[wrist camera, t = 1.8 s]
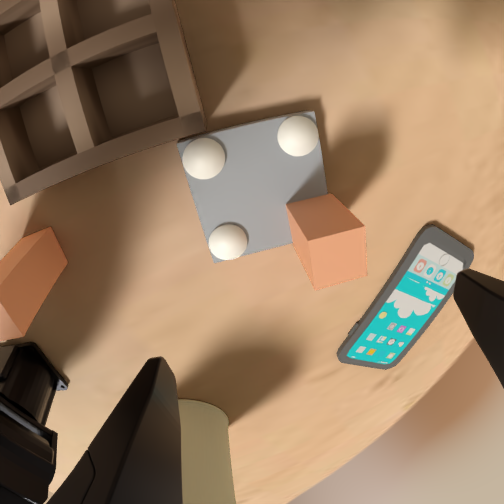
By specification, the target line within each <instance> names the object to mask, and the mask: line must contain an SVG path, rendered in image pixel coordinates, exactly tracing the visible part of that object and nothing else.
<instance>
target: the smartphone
mask: <svg viewBox="0 0 504 504" xmlns="http://www.w3.org/2000/svg"><path fill="white" fill-rule="evenodd" d="M473 258H474V253H473V251H472V250H471V249H470V248H468V247H467V246H465V245H464V244H462V243H461V242H459V241H458V240H456V239H455V238H453V237H452V236H450V235H449V234H447V233H446V232H444V231H442V230H441V229H439V228H438V227H436V226H434V225H433V224H432V225H426V226H424V227H422V229H421V230H420V231H419V232H418V233H417V235H416V236H415V238H414V239H413V241H412V243H411V244H410V246H409V248H408V249H407V251H406V252H405V254H404V256H403V257H402V259H401V260H400V262H399V263H398V265H397V267H396V268H395V270H394V271H393V273H392V274H391V276H390V277H389V279H388V280H387V282H386V283H385V285H384V286H383V288H382V289H381V291H380V292H379V294H378V295H377V297H376V298H375V299H374V301H373V302H372V304H371V305H370V307H369V308H368V309H367V311H366V312H365V314H364V315H363V316H362V318H361V319H360V320H359V322H356V323H355V325H354V326H353V327H352V329H351V330H350V331H349V333H348V334H349V335H348V337H347V338H346V339H345V341H344V342H343V343H342V345H341V346H340V347H339V349H338V351H337V357H338V359H339V361H340V362H341V363H347V364H353V365H359V366H365V367H371V368H378V369H385V370H386V369H389V368H392V367H394V366H396V365H397V364H398V363H399V362H400V361H401V360H402V358H403V357H404V356H405V355H406V354H407V352H408V351H409V350H410V349H411V348H412V346H413V345H414V344H415V343H416V342H417V340H418V339H419V338H420V337H421V335H422V334H423V333H424V332H425V330H426V329H427V328H428V326H429V325H430V324H431V322H432V321H433V320H434V319H435V317H436V316H437V315H438V313H439V312H440V310H441V309H442V308H443V306H444V305H445V304H446V302H447V301H448V299H449V298H450V296H451V295H452V294H453V292H454V286H455V280H456V275H457V273H458V272H460V271H462V270H465V269H469V267H470V265H471V263H472V261H473Z"/></svg>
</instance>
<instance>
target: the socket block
mask: <svg viewBox="0 0 504 504" xmlns="http://www.w3.org/2000/svg"><path fill="white" fill-rule="evenodd" d="M206 125H207V122H206V118H205V114H204V110H203V107H202V103H201V99H200V95H199V91H198V88H197V84H196V80H195V76H194V72H193V69H192V65H191V61H190V57H189V53H188V50H187V46H186V42H185V38H184V34H183V30H182V26H181V23H180V19H179V15H178V11H177V7H176V3H175V0H0V180H1V183H2V186H3V188H4V191H5V193H6V196H7V198H8V201H9V203H10V205H12V204H14V203H16V202H18V201H20V200H22V199H24V198H26V197H29V196H31V195H33V194H35V193H37V192H39V191H41V190H44V189H46V188H48V187H50V186H52V185H55V184H57V183H59V182H61V181H64V180H66V179H68V178H71V177H73V176H76V175H78V174H80V173H83V172H85V171H88V170H90V169H93V168H95V167H98V166H101V165H103V164H106V163H109V162H111V161H114V160H117V159H119V158H122V157H125V156H128V155H131V154H133V153H136V152H139V151H142V150H145V149H148V148H151V147H154V146H157V145H160V144H164V143H167V142H170V141H173V140H177V139H180V138H183V137H187V136H190V135H194V134H197V133H201V132H204V131H206Z"/></svg>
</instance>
